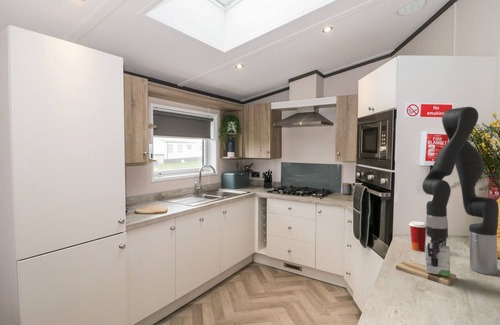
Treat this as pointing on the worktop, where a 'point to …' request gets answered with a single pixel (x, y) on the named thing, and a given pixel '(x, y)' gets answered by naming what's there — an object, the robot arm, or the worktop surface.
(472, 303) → the worktop surface
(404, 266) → the board
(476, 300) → the worktop surface
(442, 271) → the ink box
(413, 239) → the coffee cup
